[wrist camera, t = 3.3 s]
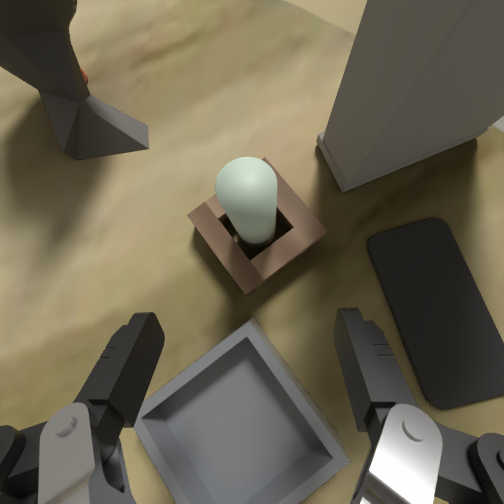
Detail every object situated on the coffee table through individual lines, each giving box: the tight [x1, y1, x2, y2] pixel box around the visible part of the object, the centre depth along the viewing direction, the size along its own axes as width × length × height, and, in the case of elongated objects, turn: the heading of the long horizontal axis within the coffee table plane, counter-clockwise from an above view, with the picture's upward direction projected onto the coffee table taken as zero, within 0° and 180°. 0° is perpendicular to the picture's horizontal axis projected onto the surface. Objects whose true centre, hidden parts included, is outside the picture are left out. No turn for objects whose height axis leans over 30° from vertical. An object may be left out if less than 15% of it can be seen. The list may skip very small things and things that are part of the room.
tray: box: [133, 317, 350, 504], centre depth 19 cm, size 12×12×4 cm
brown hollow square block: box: [187, 157, 328, 295], centre depth 22 cm, size 9×9×2 cm
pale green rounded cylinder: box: [215, 157, 277, 248], centre depth 19 cm, size 4×4×10 cm
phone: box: [367, 218, 504, 410], centre depth 21 cm, size 7×1×15 cm
